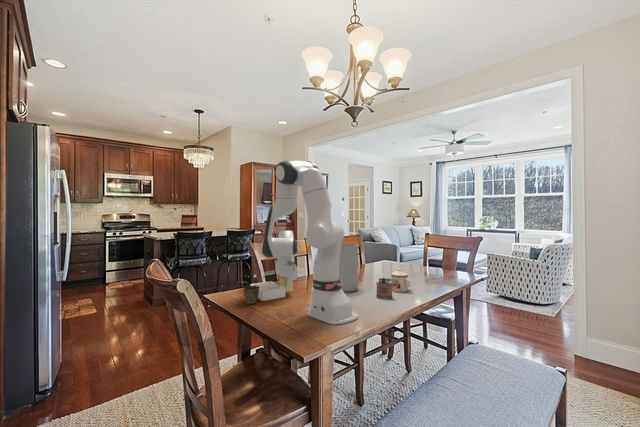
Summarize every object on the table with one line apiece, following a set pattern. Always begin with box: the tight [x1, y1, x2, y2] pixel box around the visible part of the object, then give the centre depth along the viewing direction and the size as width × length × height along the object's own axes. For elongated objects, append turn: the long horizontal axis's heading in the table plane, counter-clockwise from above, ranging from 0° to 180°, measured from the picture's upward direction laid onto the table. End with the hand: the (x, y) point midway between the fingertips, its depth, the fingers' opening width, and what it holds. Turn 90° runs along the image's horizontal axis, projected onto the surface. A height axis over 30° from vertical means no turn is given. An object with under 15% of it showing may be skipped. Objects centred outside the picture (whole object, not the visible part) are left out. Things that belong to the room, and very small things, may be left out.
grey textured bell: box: [243, 285, 259, 305], centre depth 137 cm, size 8×7×8 cm
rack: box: [249, 280, 286, 302], centre depth 152 cm, size 18×13×4 cm
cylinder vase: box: [339, 243, 359, 293], centre depth 162 cm, size 12×12×25 cm
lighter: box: [375, 276, 393, 300], centre depth 146 cm, size 8×3×10 cm, turn 68°
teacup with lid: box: [390, 268, 412, 293], centre depth 159 cm, size 12×9×12 cm
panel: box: [278, 276, 294, 293], centre depth 158 cm, size 2×7×8 cm, turn 122°
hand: (286, 284), depth 158 cm, fingers closed on panel, 2 cm apart
